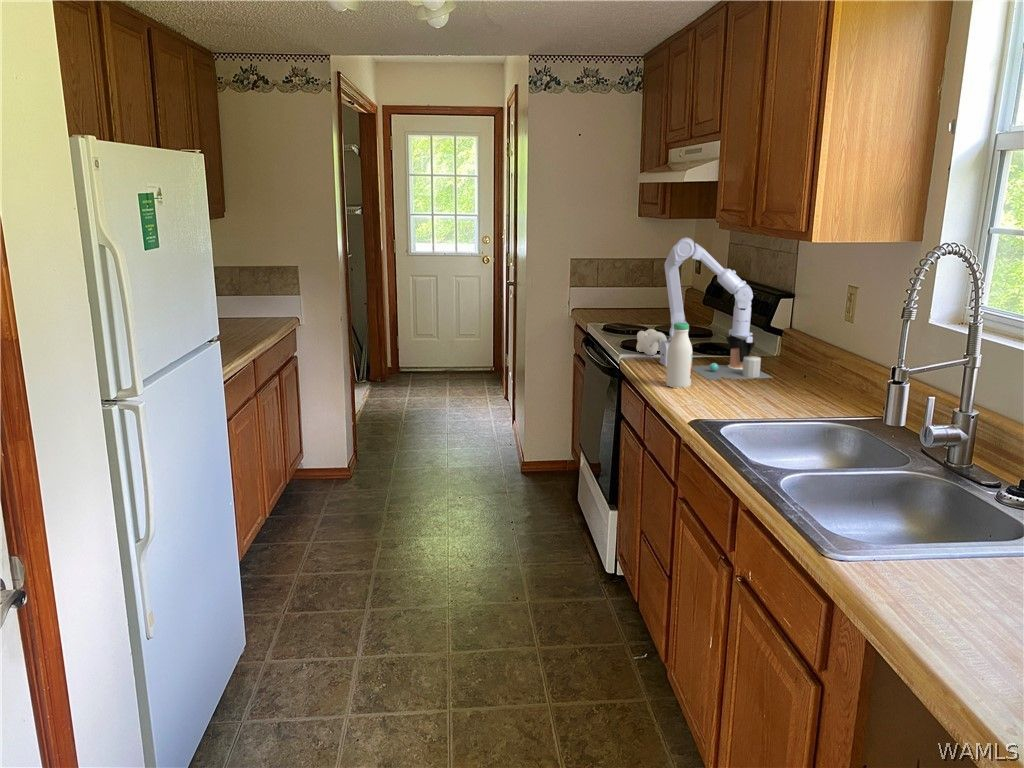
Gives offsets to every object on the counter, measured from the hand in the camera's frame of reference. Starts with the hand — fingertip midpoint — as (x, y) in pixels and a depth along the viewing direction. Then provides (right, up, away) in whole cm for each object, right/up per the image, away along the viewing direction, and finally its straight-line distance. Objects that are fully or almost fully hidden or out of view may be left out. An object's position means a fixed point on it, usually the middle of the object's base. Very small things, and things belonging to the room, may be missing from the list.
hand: (738, 359), depth 258 cm
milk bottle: (-26, -9, -22) cm, 35 cm away
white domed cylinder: (+1, -6, -11) cm, 12 cm away
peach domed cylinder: (0, -2, +1) cm, 3 cm away
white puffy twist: (-26, +3, +25) cm, 36 cm away
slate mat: (-5, -5, -6) cm, 9 cm away
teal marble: (-10, -3, -6) cm, 12 cm away
